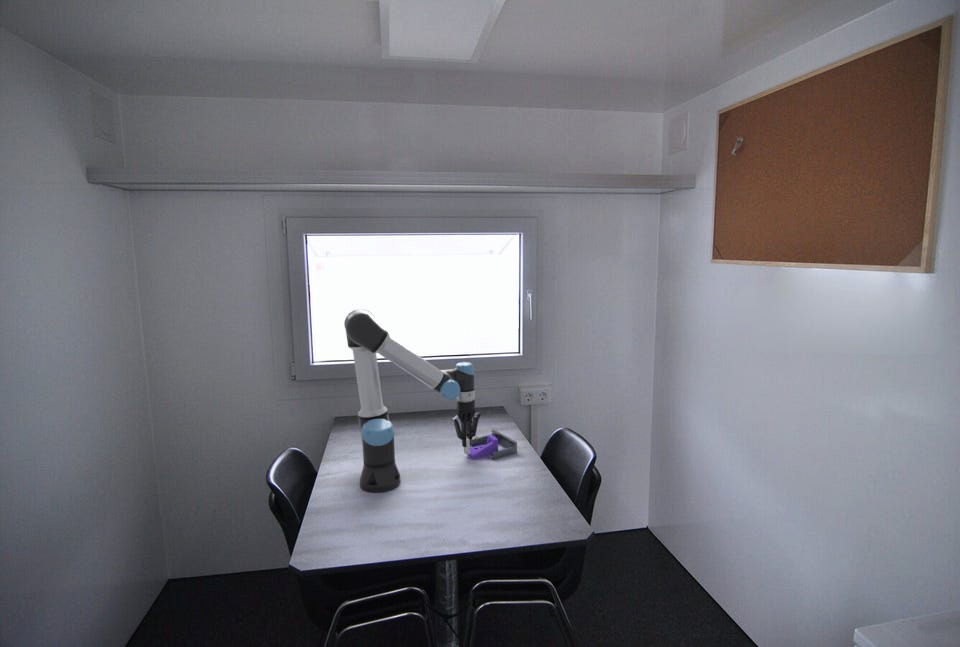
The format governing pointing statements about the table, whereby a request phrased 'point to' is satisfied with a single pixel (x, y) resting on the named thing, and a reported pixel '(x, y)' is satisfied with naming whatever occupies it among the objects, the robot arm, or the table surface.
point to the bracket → (484, 448)
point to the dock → (502, 440)
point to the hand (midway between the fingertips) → (467, 453)
